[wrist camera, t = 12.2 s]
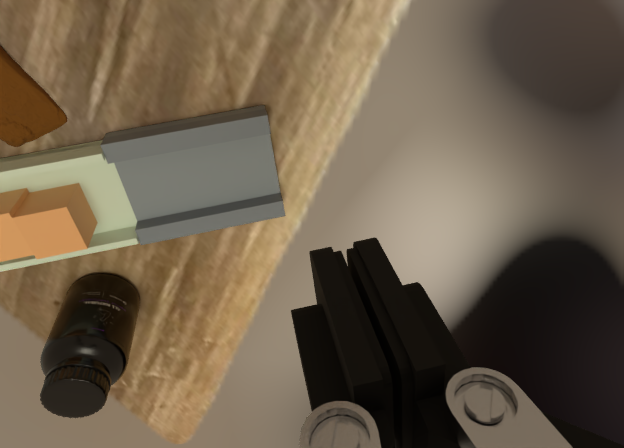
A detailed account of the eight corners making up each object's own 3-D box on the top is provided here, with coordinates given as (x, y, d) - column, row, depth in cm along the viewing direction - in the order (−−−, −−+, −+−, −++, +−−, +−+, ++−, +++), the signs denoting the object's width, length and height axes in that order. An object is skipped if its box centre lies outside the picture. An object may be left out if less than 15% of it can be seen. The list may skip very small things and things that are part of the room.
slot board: (106, 133, 37) (100, 145, 35) (264, 104, 38) (267, 114, 36) (144, 229, 42) (141, 245, 40) (281, 202, 44) (285, 215, 41)
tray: (-56, 168, 36) (-76, 186, 34) (116, 137, 37) (109, 152, 35) (-2, 253, 41) (-16, 274, 38) (149, 224, 42) (145, 242, 40)
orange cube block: (-25, 197, 37) (-48, 224, 34) (26, 187, 37) (8, 212, 34) (0, 237, 39) (-19, 265, 36) (48, 227, 39) (33, 255, 36)
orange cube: (29, 192, 37) (11, 217, 34) (78, 182, 38) (66, 206, 35) (50, 232, 40) (36, 259, 36) (97, 222, 40) (87, 248, 37)
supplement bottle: (125, 263, 44) (100, 360, 34) (150, 313, 48) (135, 413, 38) (53, 280, 43) (7, 384, 34) (84, 329, 47) (51, 435, 37)
